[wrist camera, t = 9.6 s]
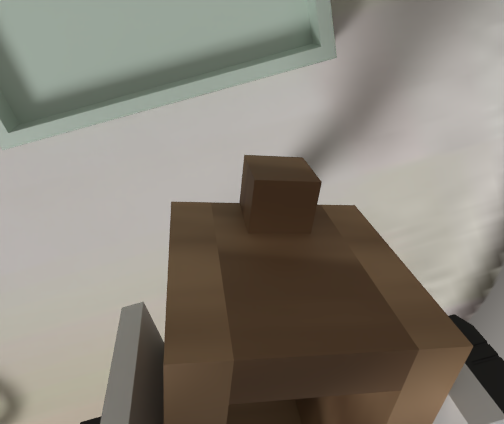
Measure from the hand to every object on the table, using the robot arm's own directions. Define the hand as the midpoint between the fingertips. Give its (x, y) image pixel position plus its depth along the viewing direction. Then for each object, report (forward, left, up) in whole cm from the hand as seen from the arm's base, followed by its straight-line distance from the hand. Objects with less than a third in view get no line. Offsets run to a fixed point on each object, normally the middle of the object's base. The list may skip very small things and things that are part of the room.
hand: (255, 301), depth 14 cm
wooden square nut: (+1, 0, 0) cm, 1 cm away
